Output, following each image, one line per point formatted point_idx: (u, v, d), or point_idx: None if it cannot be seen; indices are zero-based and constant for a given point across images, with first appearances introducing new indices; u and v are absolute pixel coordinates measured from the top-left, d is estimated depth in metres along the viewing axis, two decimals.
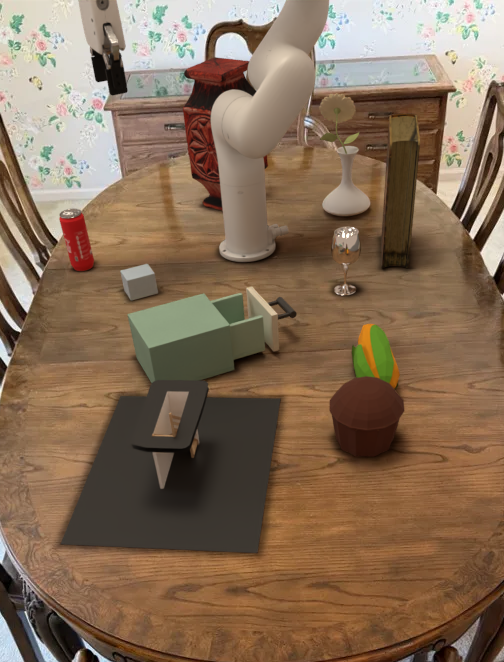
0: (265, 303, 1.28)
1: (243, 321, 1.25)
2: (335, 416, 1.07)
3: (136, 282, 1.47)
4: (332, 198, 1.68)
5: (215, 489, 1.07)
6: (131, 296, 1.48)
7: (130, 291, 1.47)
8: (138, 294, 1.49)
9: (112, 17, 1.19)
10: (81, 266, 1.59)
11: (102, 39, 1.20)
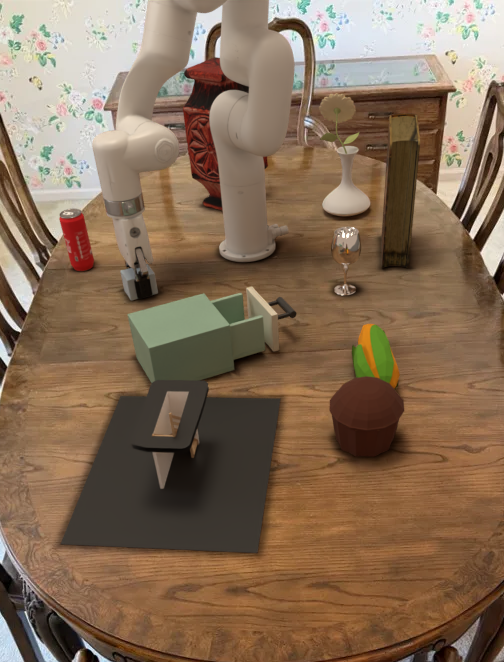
0: (265, 303, 1.28)
1: (243, 321, 1.25)
2: (335, 416, 1.07)
3: None
4: (332, 198, 1.68)
5: (215, 489, 1.07)
6: (131, 296, 1.48)
7: (130, 291, 1.47)
8: None
9: (143, 242, 1.39)
10: (81, 266, 1.59)
11: (134, 259, 1.41)
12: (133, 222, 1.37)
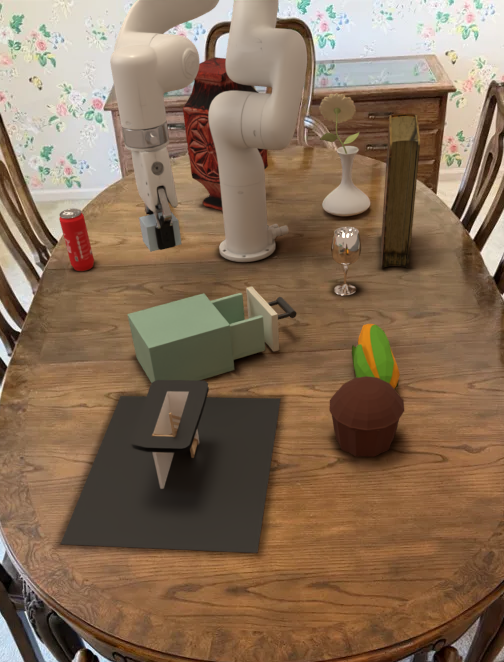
0: (265, 303, 1.28)
1: (243, 321, 1.25)
2: (335, 416, 1.07)
3: None
4: (332, 198, 1.68)
5: (215, 489, 1.07)
6: (151, 246, 1.29)
7: (150, 240, 1.29)
8: None
9: (166, 180, 1.20)
10: (81, 266, 1.59)
11: (155, 200, 1.22)
12: (155, 156, 1.18)
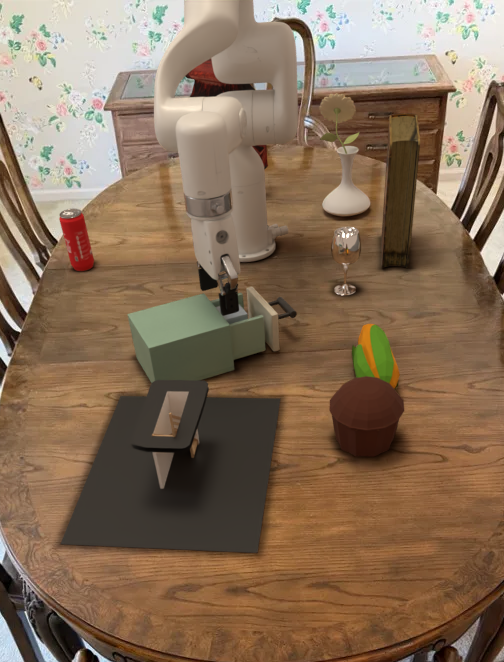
0: (265, 303, 1.28)
1: (243, 321, 1.25)
2: (335, 416, 1.07)
3: None
4: (332, 198, 1.68)
5: (215, 489, 1.07)
6: (228, 320, 1.26)
7: (234, 318, 1.26)
8: None
9: (230, 249, 1.15)
10: (81, 266, 1.59)
11: (219, 269, 1.16)
12: (220, 225, 1.12)
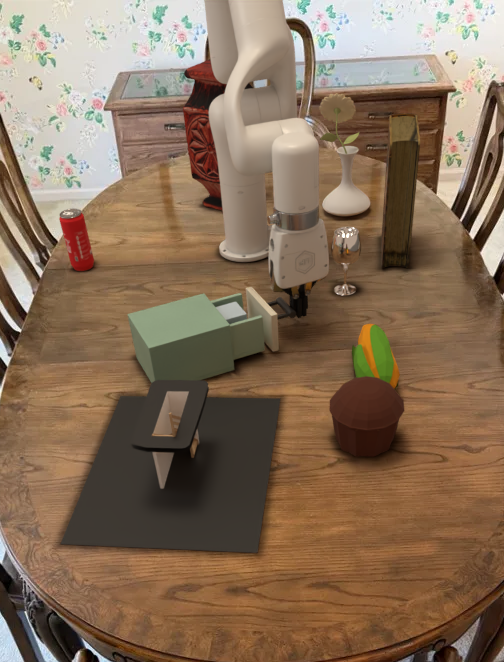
0: (265, 303, 1.28)
1: (243, 321, 1.25)
2: (335, 416, 1.07)
3: None
4: (332, 198, 1.68)
5: (215, 489, 1.07)
6: (228, 320, 1.26)
7: (234, 318, 1.26)
8: None
9: (274, 259, 1.23)
10: (81, 266, 1.59)
11: (269, 269, 1.27)
12: (273, 234, 1.21)
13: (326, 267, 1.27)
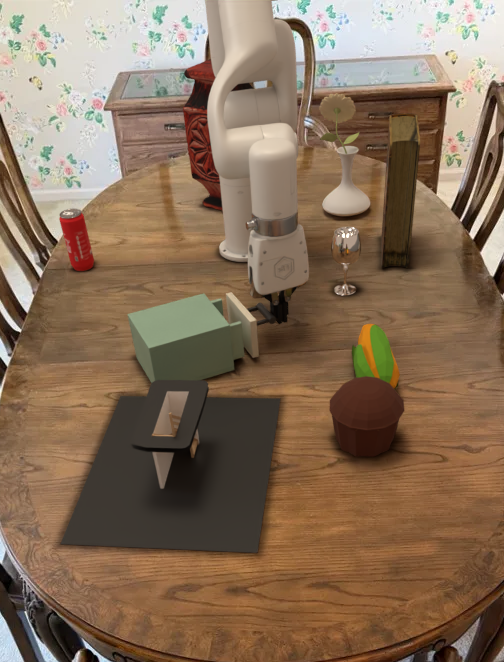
0: (244, 309, 1.27)
1: None
2: (335, 416, 1.07)
3: None
4: (332, 198, 1.68)
5: (215, 489, 1.07)
6: None
7: None
8: None
9: (253, 265, 1.22)
10: (81, 266, 1.59)
11: (248, 275, 1.26)
12: (251, 240, 1.20)
13: (306, 273, 1.26)
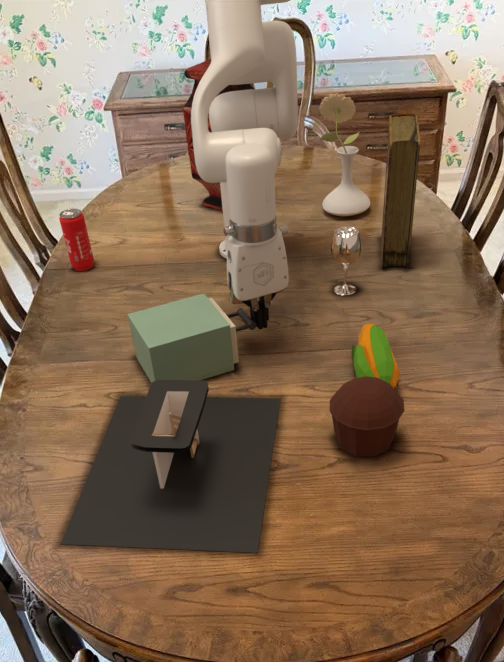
0: (224, 315, 1.26)
1: None
2: (335, 416, 1.07)
3: None
4: (332, 198, 1.68)
5: (215, 489, 1.07)
6: None
7: None
8: None
9: (232, 272, 1.22)
10: (81, 266, 1.59)
11: (228, 281, 1.25)
12: (230, 246, 1.20)
13: (285, 279, 1.25)
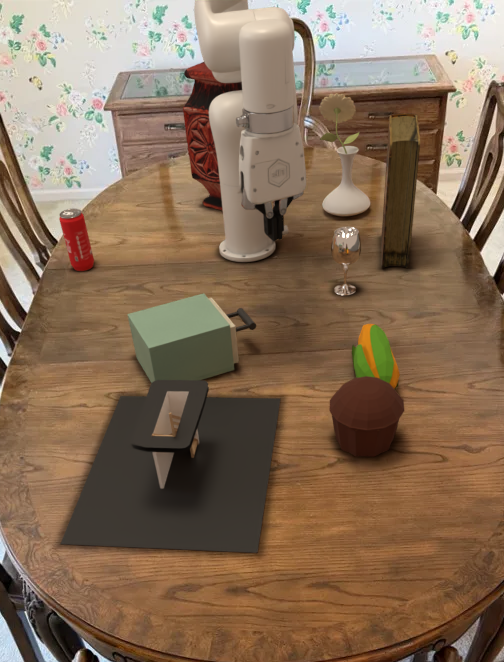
0: (224, 315, 1.26)
1: None
2: (335, 416, 1.07)
3: None
4: (332, 198, 1.68)
5: (215, 489, 1.07)
6: None
7: None
8: None
9: (244, 170, 1.11)
10: (81, 266, 1.59)
11: (240, 183, 1.15)
12: (242, 139, 1.09)
13: (303, 181, 1.15)
